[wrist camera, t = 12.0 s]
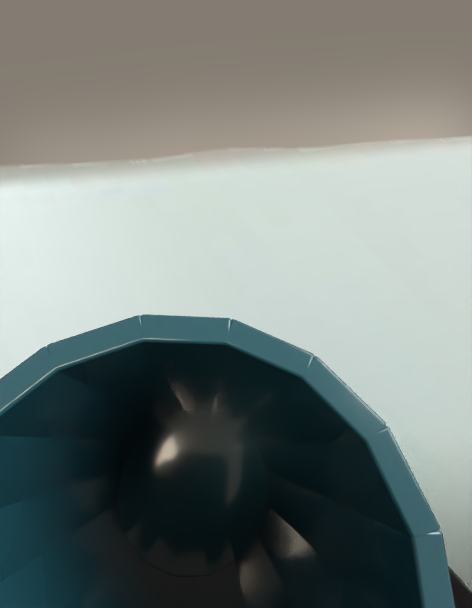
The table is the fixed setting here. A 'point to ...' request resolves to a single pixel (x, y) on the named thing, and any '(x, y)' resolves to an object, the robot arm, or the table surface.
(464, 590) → the robot arm
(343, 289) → the table surface
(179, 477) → the tumbler
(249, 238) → the table surface
